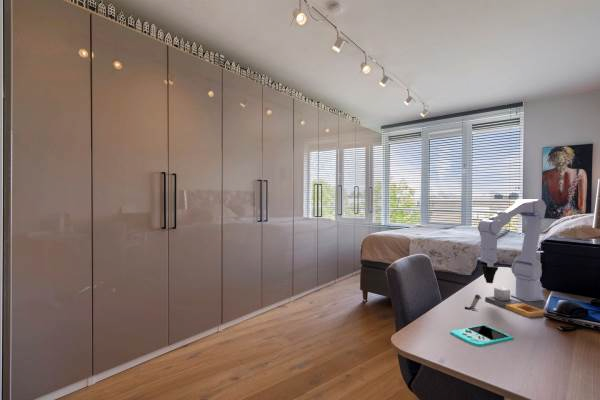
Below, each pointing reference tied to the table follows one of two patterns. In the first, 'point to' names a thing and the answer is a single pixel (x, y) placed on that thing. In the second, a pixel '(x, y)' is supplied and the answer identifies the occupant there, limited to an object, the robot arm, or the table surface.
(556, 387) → the table surface
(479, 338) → the handheld game console
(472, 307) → the tactical tomahawk
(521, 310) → the rail plate
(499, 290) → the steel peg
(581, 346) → the table surface
